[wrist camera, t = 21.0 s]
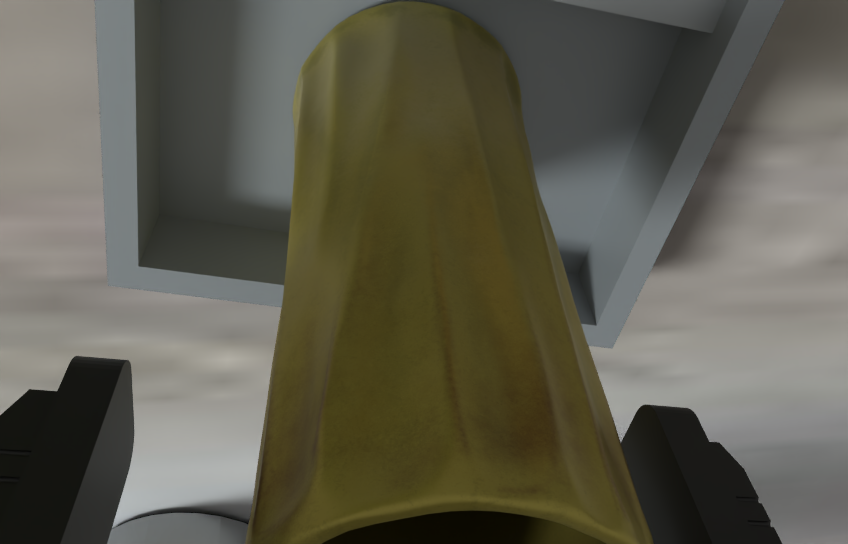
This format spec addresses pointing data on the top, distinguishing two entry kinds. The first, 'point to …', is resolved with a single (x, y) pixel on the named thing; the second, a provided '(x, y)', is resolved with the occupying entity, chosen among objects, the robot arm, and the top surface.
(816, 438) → the top surface
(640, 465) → the robot arm
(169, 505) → the top surface
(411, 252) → the vase
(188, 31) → the tray
